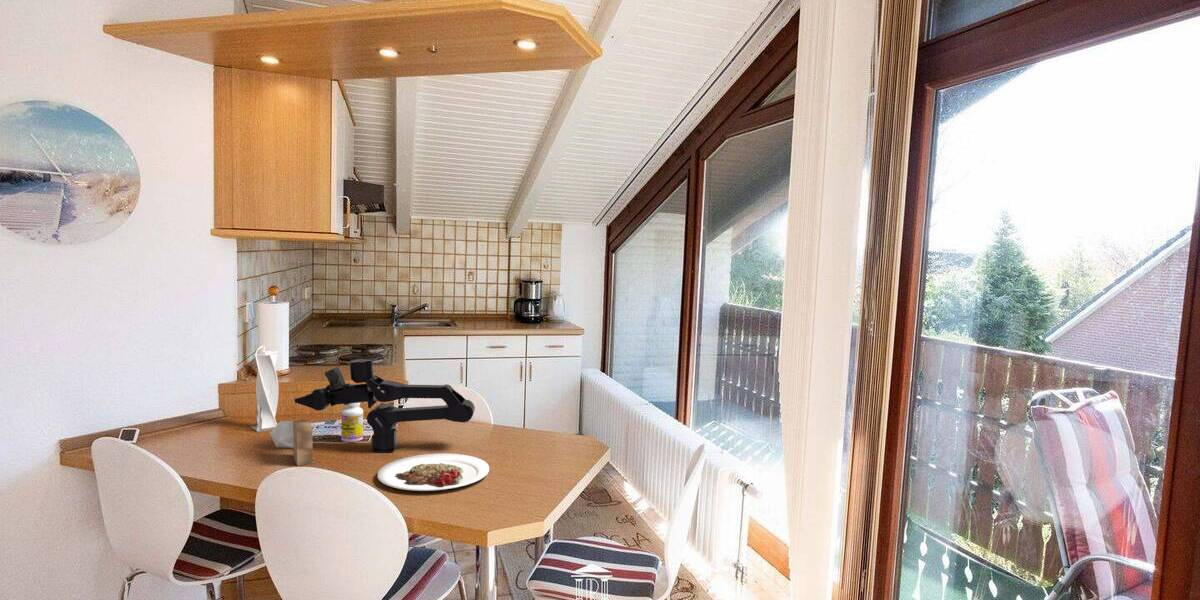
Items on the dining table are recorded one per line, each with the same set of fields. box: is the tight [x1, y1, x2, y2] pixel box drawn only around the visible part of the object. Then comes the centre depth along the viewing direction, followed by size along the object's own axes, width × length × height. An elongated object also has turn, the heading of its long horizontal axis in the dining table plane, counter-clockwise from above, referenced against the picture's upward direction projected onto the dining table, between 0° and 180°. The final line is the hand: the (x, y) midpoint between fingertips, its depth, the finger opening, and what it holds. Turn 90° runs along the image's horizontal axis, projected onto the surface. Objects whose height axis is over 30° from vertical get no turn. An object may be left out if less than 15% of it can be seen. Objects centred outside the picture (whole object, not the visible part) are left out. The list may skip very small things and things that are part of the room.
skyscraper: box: [251, 345, 280, 433], centre depth 223 cm, size 8×8×28 cm
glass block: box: [292, 419, 314, 467], centre depth 189 cm, size 4×9×11 cm, turn 32°
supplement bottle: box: [340, 403, 364, 443], centre depth 211 cm, size 7×7×13 cm
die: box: [269, 420, 294, 449], centre depth 203 cm, size 8×9×10 cm
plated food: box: [377, 452, 490, 492], centre depth 180 cm, size 30×30×3 cm
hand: (300, 398), depth 199 cm, fingers open, 9 cm apart
